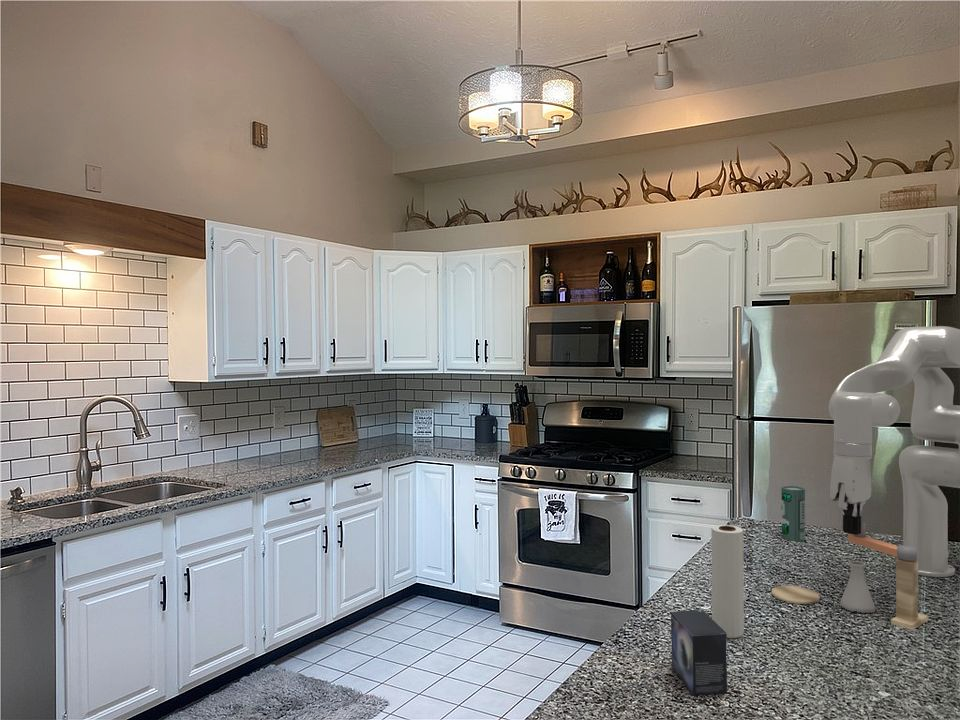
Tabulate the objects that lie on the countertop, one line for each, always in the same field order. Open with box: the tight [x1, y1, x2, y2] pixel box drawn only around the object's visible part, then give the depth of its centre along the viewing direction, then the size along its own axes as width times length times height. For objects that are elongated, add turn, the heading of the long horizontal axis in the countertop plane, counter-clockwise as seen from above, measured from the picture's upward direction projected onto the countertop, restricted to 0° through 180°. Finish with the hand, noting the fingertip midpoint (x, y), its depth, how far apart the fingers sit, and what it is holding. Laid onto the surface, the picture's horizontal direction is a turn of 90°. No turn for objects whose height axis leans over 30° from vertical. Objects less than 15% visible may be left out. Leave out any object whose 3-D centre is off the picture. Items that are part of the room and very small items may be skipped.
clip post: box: [890, 558, 929, 631], centre depth 145 cm, size 8×4×13 cm, turn 127°
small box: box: [670, 609, 729, 696], centre depth 122 cm, size 11×6×10 cm, turn 5°
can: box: [780, 485, 806, 542], centre depth 208 cm, size 6×6×15 cm
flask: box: [839, 560, 876, 614], centre depth 154 cm, size 7×7×10 cm
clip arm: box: [847, 519, 917, 561], centre depth 151 cm, size 4×16×5 cm, turn 18°
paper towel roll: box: [711, 522, 745, 639], centre depth 141 cm, size 7×6×21 cm
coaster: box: [771, 585, 820, 605], centre depth 161 cm, size 10×10×1 cm
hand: (851, 532), depth 155 cm, fingers closed
